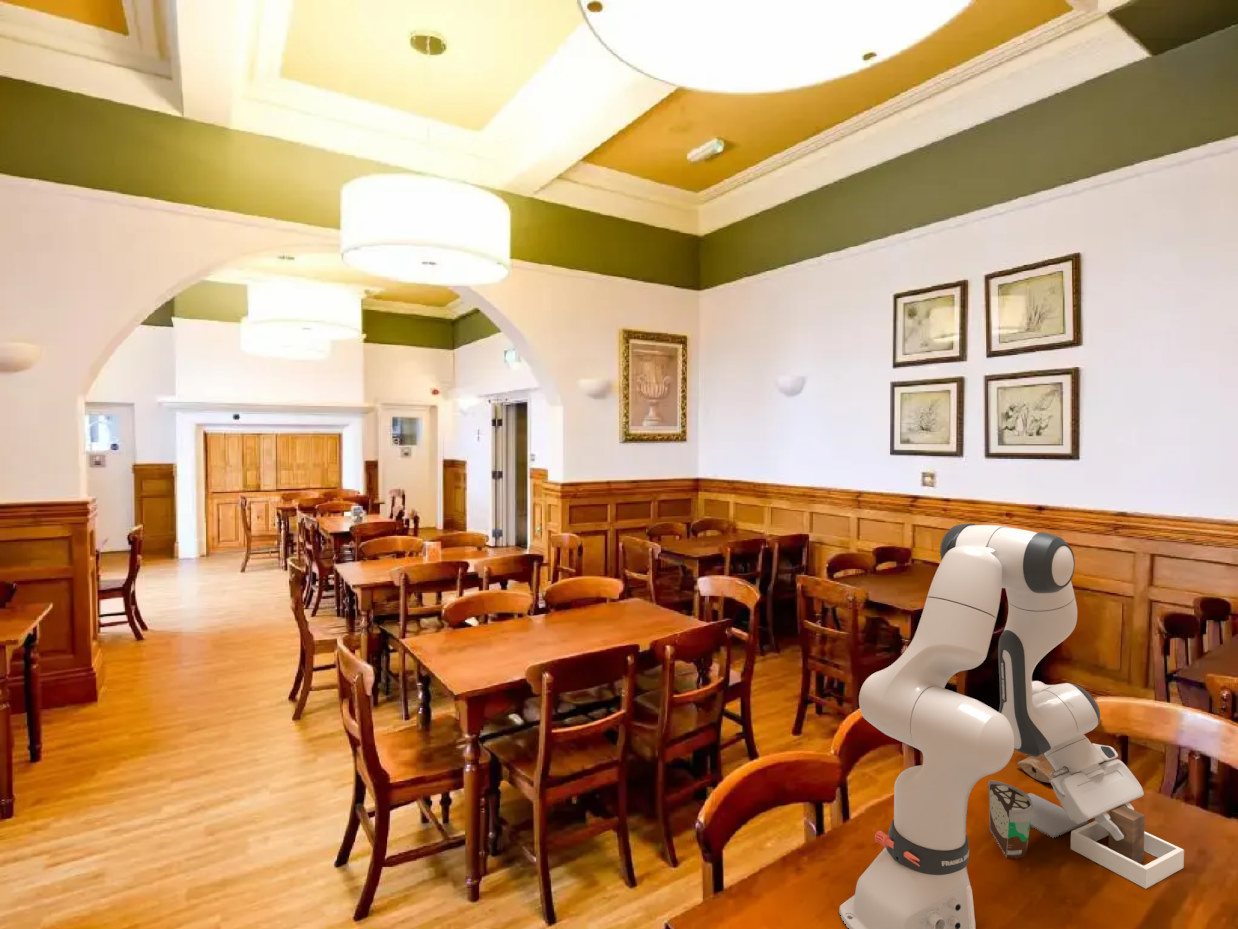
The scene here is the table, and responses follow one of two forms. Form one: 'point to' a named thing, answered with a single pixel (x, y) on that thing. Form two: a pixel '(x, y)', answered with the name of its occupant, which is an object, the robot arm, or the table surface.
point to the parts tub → (1131, 870)
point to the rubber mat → (1051, 818)
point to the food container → (1010, 818)
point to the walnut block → (1128, 833)
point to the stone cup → (1037, 767)
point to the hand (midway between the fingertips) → (1130, 835)
